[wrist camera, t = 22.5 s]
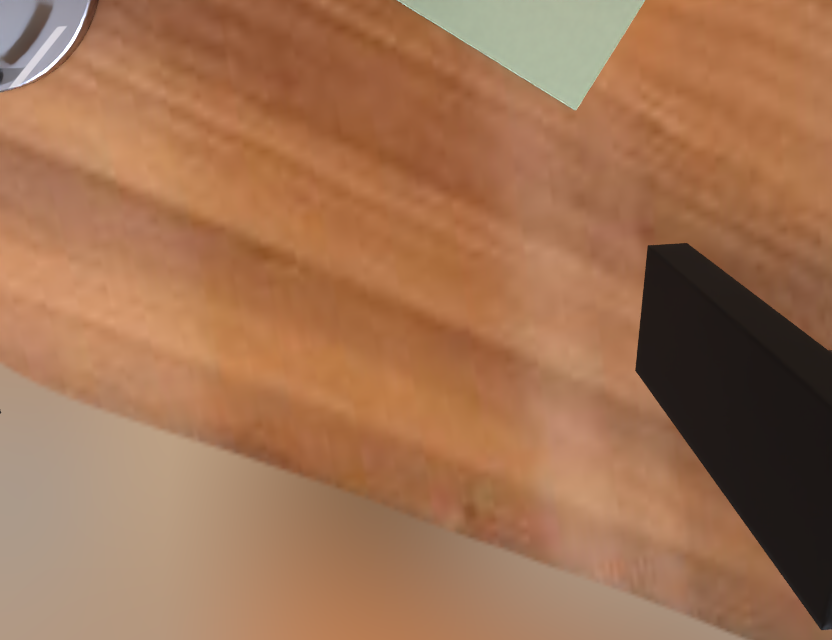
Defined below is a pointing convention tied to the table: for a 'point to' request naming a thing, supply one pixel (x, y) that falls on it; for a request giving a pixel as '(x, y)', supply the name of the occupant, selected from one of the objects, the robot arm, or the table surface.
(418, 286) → the table surface
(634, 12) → the mat
